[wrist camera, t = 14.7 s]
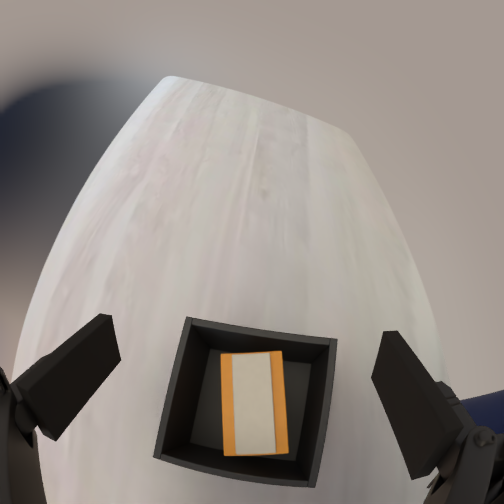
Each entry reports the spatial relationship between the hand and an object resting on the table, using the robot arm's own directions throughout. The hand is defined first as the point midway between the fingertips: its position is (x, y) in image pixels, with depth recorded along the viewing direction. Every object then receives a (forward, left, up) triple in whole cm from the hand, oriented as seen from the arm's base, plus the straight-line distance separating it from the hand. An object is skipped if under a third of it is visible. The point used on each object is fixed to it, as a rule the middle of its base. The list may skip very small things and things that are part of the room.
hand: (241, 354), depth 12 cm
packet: (-1, +2, -17) cm, 18 cm away
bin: (0, +2, -18) cm, 18 cm away
